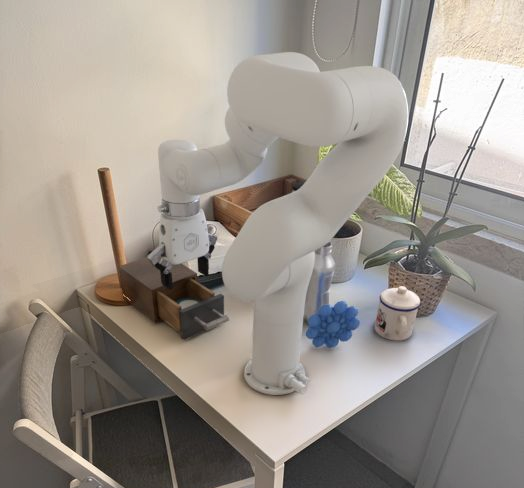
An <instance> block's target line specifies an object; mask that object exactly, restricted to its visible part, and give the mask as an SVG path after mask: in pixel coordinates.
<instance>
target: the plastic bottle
mask: <svg viewBox="0 0 524 488" xmlns="http://www.w3.org/2000/svg"><path fill="white" fill-rule="evenodd" d="M332 248H333V243H332V242H331V241H329V242H328V243H327V244H326V245H324V246H323V247H321V248H319V249H317V250H315V251H314V254H315V260H314V267H313V271H312V275H311V278H310V281H309V285H308V288H307V294H306V299H305V307H304V316H303V320H304V321H306V322H307V323H308V319H309V318H310V317H311V316H312V315H315V314H318V315H319V309H320V308H321V307H322V306H323V305H326V304H330V291H331V286H332V281H333V279H334V278H333V277H334V274H335V270H336V263H335V260H334V258H333V257H332V255H331V254H332V252H333V251H332Z"/></svg>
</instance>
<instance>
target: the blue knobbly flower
mask: <svg viewBox="0 0 524 488" xmlns="http://www.w3.org/2000/svg"><path fill="white" fill-rule="evenodd" d="M358 314H359V309H358V308H357V307H356V306H353V305H352V306H348V303H347V302H346V301H344V300H340V301H337V302H336V303H335V304H333V306H332V304H330V303H329V304H326V305H323V306H322V307H321V308H320V309H319V315H318V314H315V315H312V316H311V317H310V318H309V319H308V322H307V325H308V326H309V327H308V328H307V329H306V330H305V337H306V338H307V339H308V340H311V344H312V345H313V346H314V347H315V348H320V347H323V346H324V345H325V347H327V348H328V349H333V348H336V347H337V346H338V344H339V343H340V342H343V343H344V342H348V341H349V340H350V339H351V338H352V336H353V331H355V330H356V329H358V328H359V327H360V324H361V323H360V319H359V318H358V317H357V316H358Z"/></svg>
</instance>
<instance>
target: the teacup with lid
mask: <svg viewBox="0 0 524 488" xmlns="http://www.w3.org/2000/svg"><path fill="white" fill-rule="evenodd" d="M420 306H421V300H420V297H419V296H418V294H416V293H415V292H413V291H412V290H409V289H408V288H407V287H406V286H403V285H400V286H398V287H391V288H387V289H384V290H383V291H382V292H381V293H380V295H379V303H378V307H377V314H376V319H375V324H374V330H375V332H376V333H377V334H378V335H379V336H380V337H382V338H384V339H386V340H390V341H395V342H397V341H398V342H399V341H405V340H407V339H409V338H410V337H411V336H412V334H413V330H414V326H415V322H416V318H417V314H418V311H419V308H420Z"/></svg>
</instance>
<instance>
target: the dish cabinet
mask: <svg viewBox="0 0 524 488" xmlns="http://www.w3.org/2000/svg"><path fill="white" fill-rule="evenodd" d="M147 257H148V256H145V257H143V258H139V259H137V260H134V261H131V262H127V263H124V264H121V265H119V266H118V272H119V279H120V284H121V285H120V286H121V291H122V297H123V298H122V299H123V300H124V301H125V302H127V303H128V304H129V305H130V306H132V307H133V308H134V309H136V310H137V311H139V312H140V313H141V314H142V315H144V316H145V317H146V318H147V319H149V320H150V321H151V322H152V323H154V324H158V323H161V322H164V320H162V319H161V318H160V317H158V316H157V307H156V297H155V292H156V291H158V290H161V289H164V288H166V287H165V286H163V285H162V283H161V274H160V270H158V269H157V268H155V267H154V266H152V264H151V262H150V261H149V260H148V258H147ZM161 259H162V257H161V256H159V257H158V262H159V263H160V261H161ZM167 262H168V261H167ZM167 262H166V264H167ZM166 264H165V266H166ZM165 266H164V267H165ZM169 272H171V273H172V282H173V285H175V284H177V283H180V282H183V281H185V280H188V279H191V278H192V279H194V280H195V281H197V282H198V273H197V272H196V271H194V270H192V269H191V268H189V267H188V266H186V265H185V264H184V263H182V264H178V265H173V266H172V268H171V269H170V271H169ZM123 294H124V295H125V296H126V297H128V298H129V299H130V300H131V301H129V300H128V299H127V298H126V297H124V296H123Z"/></svg>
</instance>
